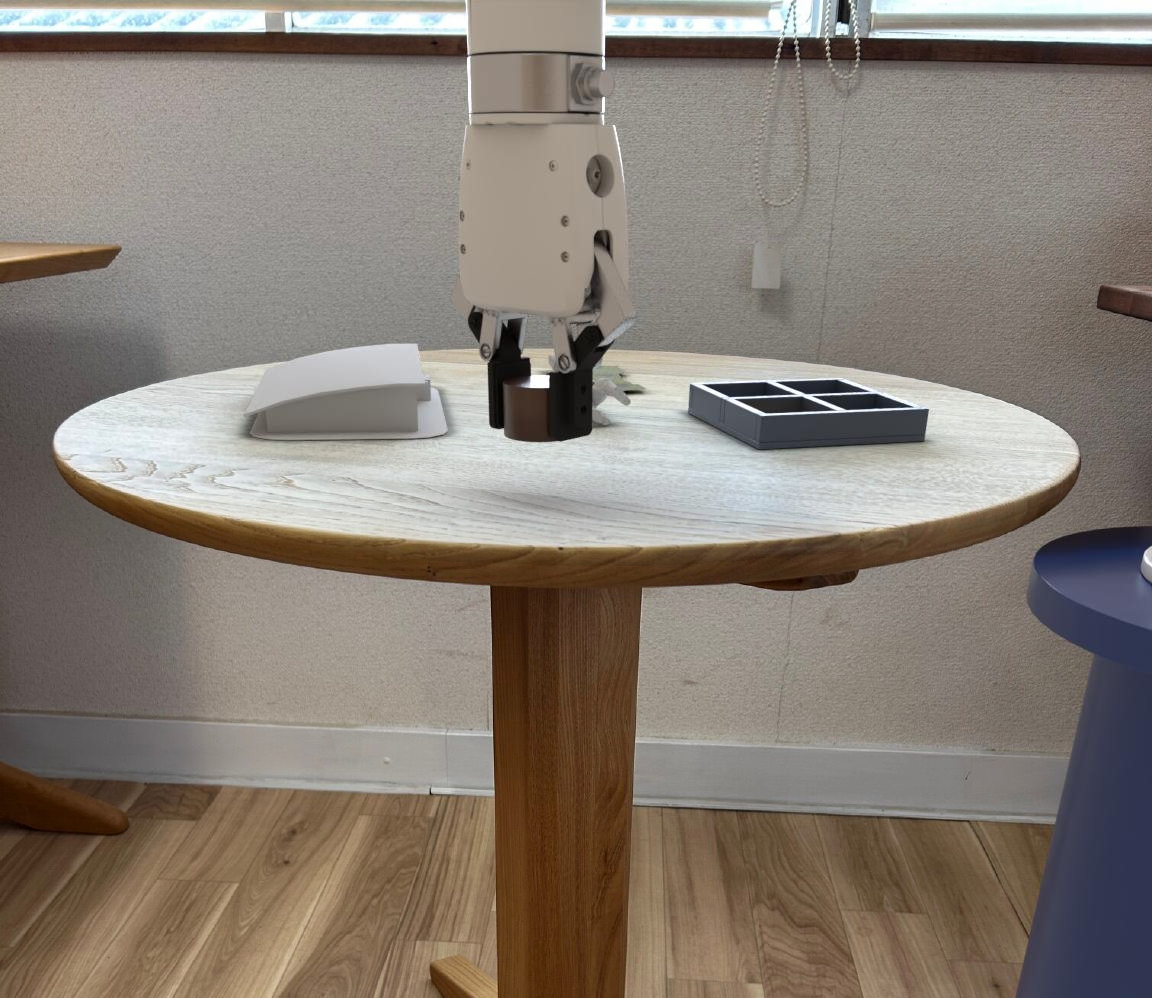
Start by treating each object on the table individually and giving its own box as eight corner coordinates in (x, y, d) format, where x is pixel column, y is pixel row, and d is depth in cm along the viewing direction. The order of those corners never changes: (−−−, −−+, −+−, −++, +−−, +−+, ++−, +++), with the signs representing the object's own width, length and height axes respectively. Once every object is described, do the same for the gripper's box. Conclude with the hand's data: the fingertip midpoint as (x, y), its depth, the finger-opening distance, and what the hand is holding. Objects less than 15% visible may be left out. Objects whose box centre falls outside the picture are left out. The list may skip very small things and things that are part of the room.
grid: (924, 441, 97) (929, 408, 96) (758, 449, 93) (761, 415, 92) (837, 406, 109) (840, 377, 108) (687, 412, 105) (689, 382, 104)
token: (585, 439, 75) (586, 385, 73) (514, 444, 73) (513, 389, 72) (564, 425, 78) (564, 374, 77) (496, 429, 77) (494, 377, 76)
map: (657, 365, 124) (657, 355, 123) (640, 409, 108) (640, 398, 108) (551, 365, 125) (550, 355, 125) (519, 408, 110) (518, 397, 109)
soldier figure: (563, 441, 99) (502, 370, 106) (594, 473, 102) (532, 403, 110) (635, 371, 97) (567, 305, 104) (663, 407, 101) (596, 340, 108)
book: (436, 385, 114) (435, 341, 113) (449, 438, 94) (448, 385, 92) (268, 386, 112) (264, 341, 110) (245, 440, 92) (239, 387, 90)
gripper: (699, 94, 65) (684, 442, 73) (480, 101, 75) (489, 406, 83) (606, 90, 60) (601, 463, 68) (385, 98, 70) (405, 421, 79)
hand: (540, 428), depth 76 cm, fingers closed on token, 4 cm apart
